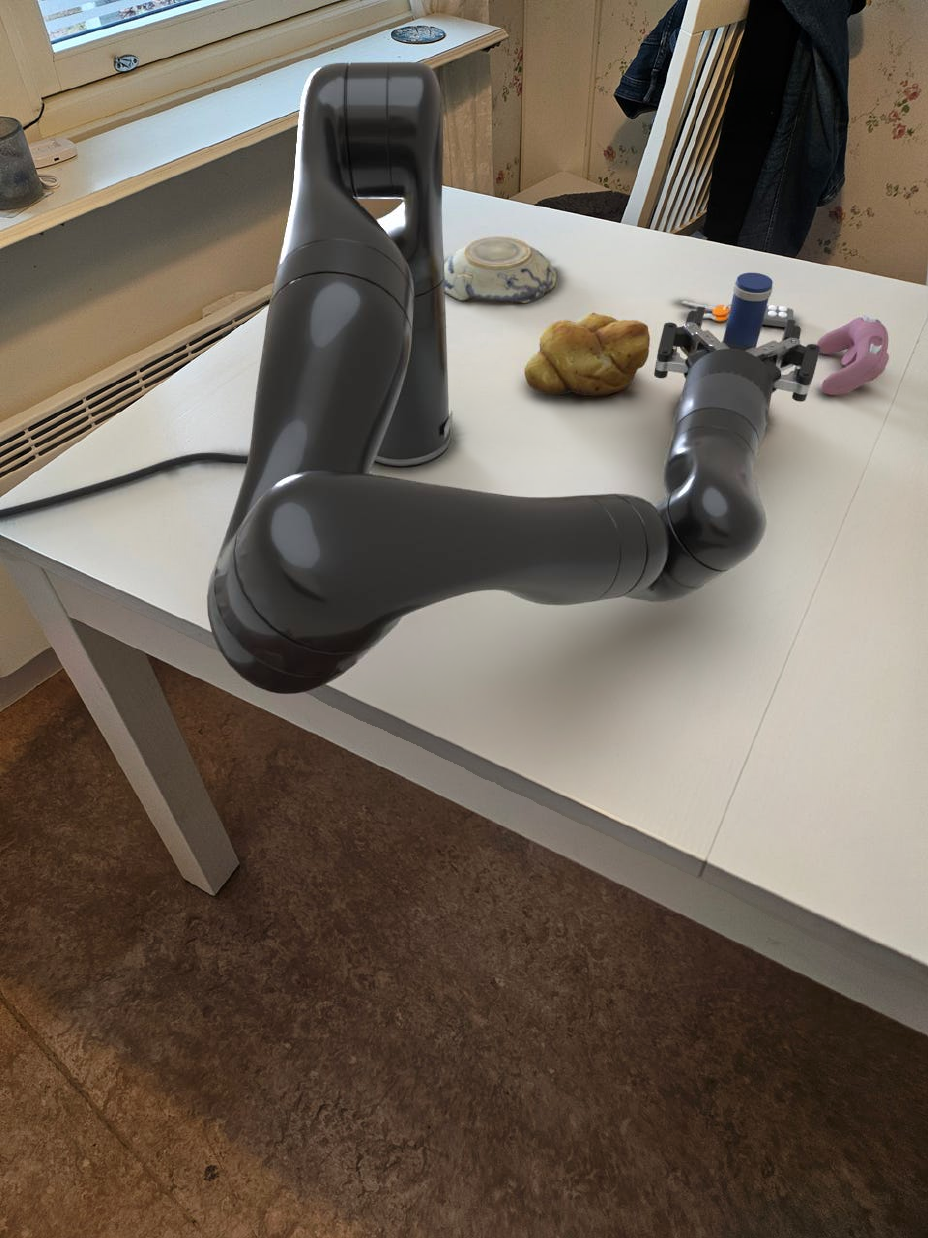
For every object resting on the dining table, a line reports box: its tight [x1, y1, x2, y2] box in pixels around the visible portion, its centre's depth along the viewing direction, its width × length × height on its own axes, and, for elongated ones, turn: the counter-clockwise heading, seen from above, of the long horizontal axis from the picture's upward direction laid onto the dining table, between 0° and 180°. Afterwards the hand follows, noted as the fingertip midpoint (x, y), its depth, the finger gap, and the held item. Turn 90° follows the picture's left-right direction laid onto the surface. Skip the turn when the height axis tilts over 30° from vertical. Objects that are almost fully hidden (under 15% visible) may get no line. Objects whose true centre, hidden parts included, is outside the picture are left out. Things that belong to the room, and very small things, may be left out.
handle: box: [722, 272, 774, 348], centre depth 85 cm, size 3×3×14 cm
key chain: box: [681, 300, 794, 328], centre depth 103 cm, size 13×4×2 cm, turn 76°
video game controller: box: [816, 314, 890, 396], centre depth 93 cm, size 10×5×7 cm, turn 169°
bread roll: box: [524, 312, 651, 396], centre depth 92 cm, size 13×10×8 cm
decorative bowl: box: [444, 236, 557, 304], centre depth 110 cm, size 15×4×15 cm
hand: (744, 321), depth 85 cm, fingers open, 8 cm apart
